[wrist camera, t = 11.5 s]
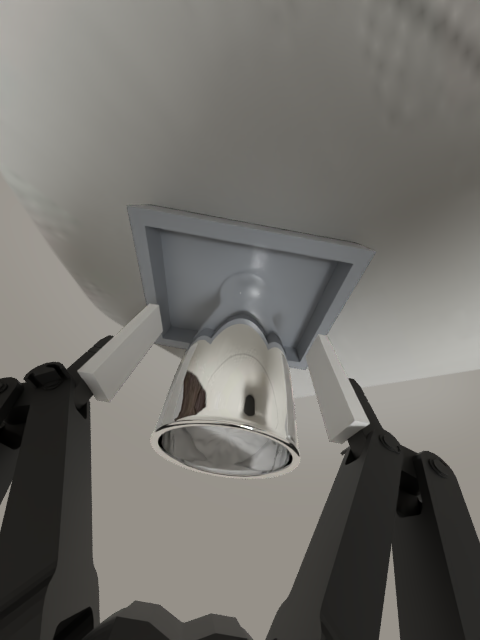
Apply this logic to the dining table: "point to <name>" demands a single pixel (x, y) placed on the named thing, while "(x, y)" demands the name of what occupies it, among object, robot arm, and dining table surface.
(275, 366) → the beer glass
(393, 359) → the dining table surface
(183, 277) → the tray
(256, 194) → the dining table surface
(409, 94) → the dining table surface
